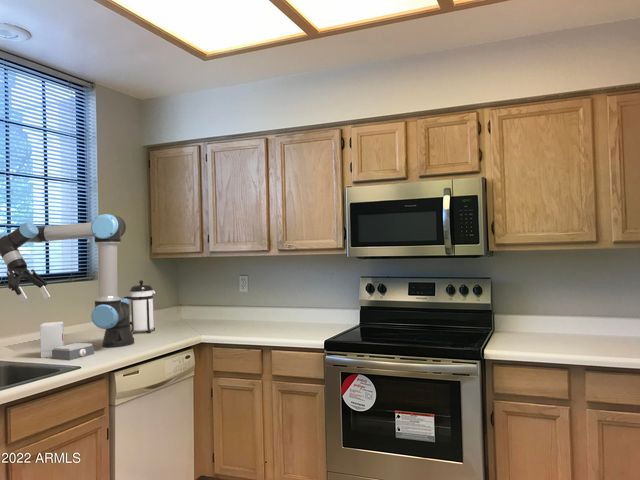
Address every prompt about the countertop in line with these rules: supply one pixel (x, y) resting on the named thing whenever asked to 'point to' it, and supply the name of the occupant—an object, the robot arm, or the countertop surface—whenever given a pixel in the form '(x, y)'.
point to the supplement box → (51, 337)
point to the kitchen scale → (72, 351)
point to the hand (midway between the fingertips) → (36, 299)
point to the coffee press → (141, 307)
